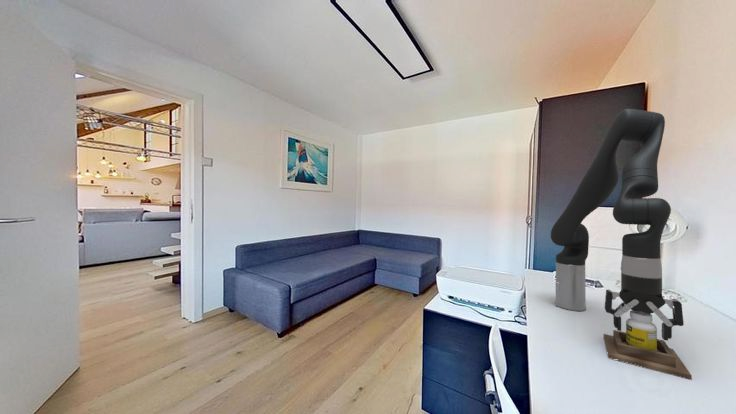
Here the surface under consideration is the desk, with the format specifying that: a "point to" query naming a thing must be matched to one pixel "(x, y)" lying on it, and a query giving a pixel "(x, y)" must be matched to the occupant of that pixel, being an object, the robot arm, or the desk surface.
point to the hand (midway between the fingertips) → (641, 334)
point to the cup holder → (645, 355)
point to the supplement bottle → (641, 331)
